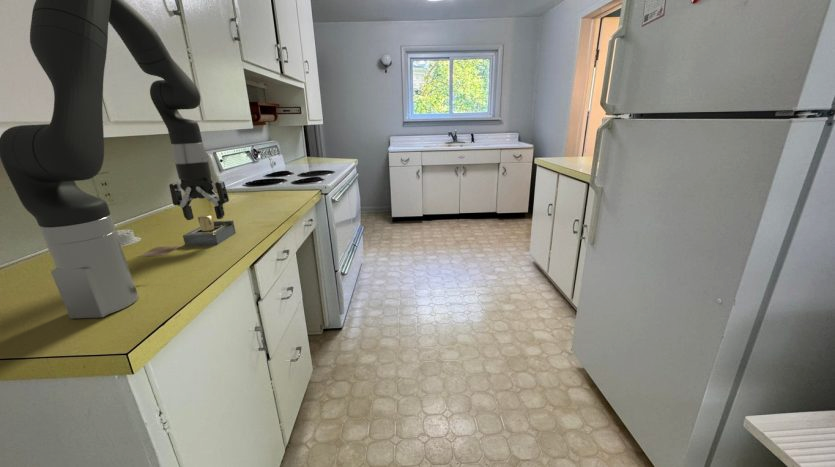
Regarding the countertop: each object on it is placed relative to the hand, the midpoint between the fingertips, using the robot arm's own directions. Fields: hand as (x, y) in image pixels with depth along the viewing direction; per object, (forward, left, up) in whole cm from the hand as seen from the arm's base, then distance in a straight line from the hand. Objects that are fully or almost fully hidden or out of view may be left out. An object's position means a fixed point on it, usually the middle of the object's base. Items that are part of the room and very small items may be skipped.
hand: (205, 219), depth 96 cm
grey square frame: (0, 0, -7) cm, 7 cm away
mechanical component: (0, +27, -8) cm, 28 cm away
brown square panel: (-8, +9, -7) cm, 14 cm away
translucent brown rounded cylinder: (0, 0, -7) cm, 7 cm away
